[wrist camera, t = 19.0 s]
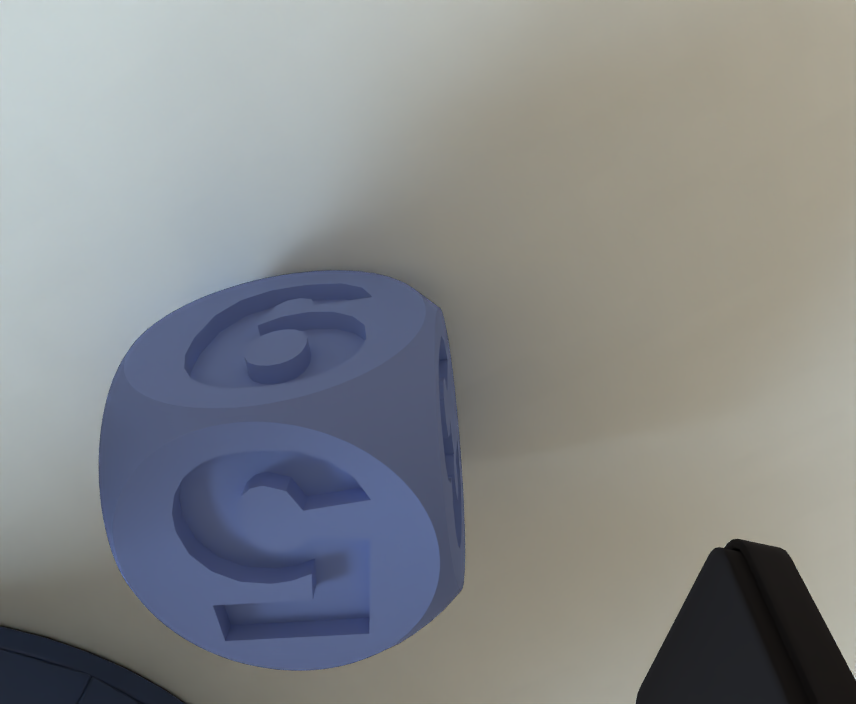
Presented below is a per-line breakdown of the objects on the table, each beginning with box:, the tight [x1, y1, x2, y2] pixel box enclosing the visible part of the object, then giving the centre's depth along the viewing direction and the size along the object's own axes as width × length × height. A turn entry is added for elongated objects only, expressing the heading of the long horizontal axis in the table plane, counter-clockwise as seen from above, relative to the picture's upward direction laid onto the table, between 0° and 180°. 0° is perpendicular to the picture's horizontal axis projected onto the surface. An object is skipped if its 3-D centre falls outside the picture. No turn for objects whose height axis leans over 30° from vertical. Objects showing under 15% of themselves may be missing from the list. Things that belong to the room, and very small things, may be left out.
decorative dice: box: [99, 270, 465, 670], centre depth 10 cm, size 4×4×4 cm
